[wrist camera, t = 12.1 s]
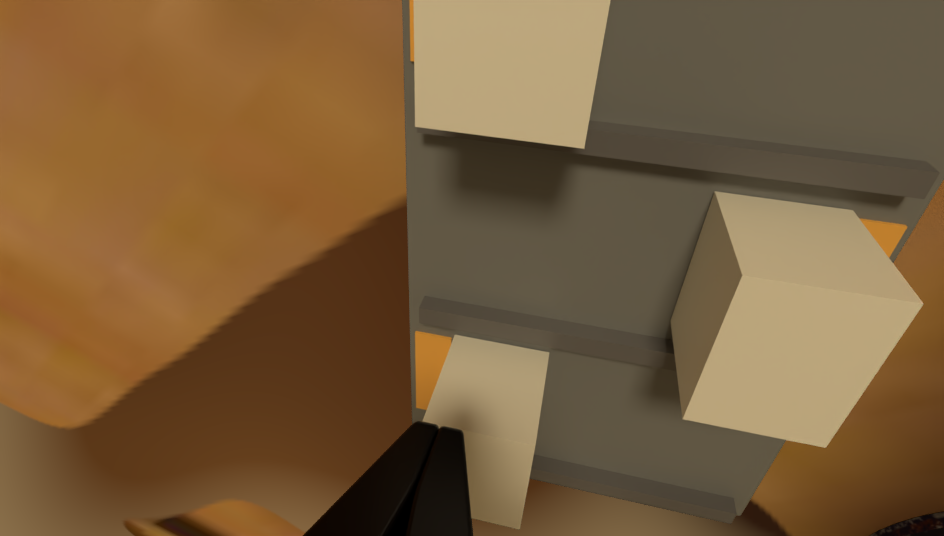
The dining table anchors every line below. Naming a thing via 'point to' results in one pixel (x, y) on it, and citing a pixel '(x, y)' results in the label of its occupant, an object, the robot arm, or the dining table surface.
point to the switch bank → (663, 216)
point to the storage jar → (916, 527)
